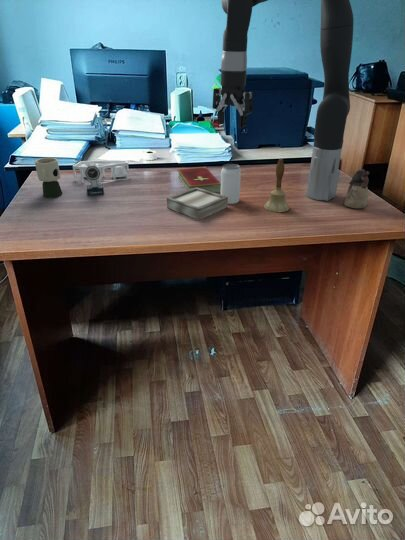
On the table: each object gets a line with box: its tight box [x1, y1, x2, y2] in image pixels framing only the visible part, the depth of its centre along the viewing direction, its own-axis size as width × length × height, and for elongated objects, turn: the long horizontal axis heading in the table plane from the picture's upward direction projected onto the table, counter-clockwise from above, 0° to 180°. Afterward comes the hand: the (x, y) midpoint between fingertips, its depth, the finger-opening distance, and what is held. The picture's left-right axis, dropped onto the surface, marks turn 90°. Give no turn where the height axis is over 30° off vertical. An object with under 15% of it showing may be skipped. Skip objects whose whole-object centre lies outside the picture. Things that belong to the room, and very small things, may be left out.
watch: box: [85, 163, 105, 196], centre depth 138 cm, size 6×8×11 cm
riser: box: [166, 187, 229, 220], centre depth 130 cm, size 14×14×4 cm
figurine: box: [343, 168, 370, 209], centre depth 131 cm, size 7×7×12 cm
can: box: [220, 163, 242, 205], centre depth 133 cm, size 6×6×12 cm
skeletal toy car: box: [72, 159, 130, 184], centre depth 151 cm, size 20×11×7 cm, turn 93°
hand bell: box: [263, 158, 290, 213], centre depth 127 cm, size 8×8×16 cm
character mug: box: [34, 157, 63, 199], centre depth 135 cm, size 11×7×13 cm, turn 4°
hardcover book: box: [176, 166, 221, 193], centre depth 149 cm, size 12×21×4 cm, turn 15°
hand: (231, 125), depth 126 cm, fingers open, 8 cm apart
